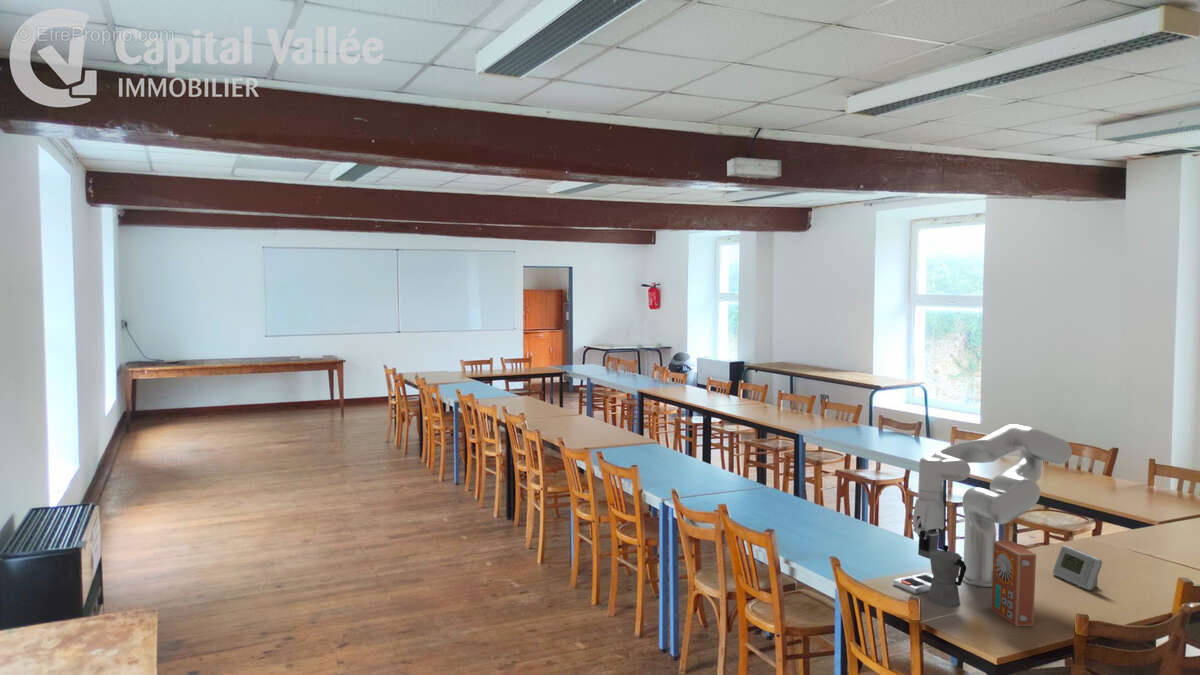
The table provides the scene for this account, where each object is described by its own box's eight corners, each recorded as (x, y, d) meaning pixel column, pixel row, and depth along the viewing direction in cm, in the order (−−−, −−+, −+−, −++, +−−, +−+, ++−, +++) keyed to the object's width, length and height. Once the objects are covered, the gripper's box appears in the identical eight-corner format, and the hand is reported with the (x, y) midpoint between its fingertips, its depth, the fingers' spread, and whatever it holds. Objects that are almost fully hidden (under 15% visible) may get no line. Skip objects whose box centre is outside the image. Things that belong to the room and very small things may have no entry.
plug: (925, 553, 257) (926, 528, 257) (937, 557, 253) (938, 532, 252) (918, 554, 255) (919, 529, 255) (930, 559, 251) (931, 533, 251)
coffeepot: (917, 594, 246) (919, 539, 245) (942, 592, 248) (944, 537, 247) (950, 614, 231) (952, 555, 230) (976, 611, 233) (978, 553, 232)
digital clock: (1050, 574, 266) (1051, 544, 266) (1075, 574, 266) (1077, 544, 266) (1079, 591, 250) (1080, 559, 250) (1106, 592, 250) (1108, 560, 250)
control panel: (1016, 628, 221) (986, 607, 236) (1039, 627, 222) (1007, 607, 236) (1019, 555, 220) (988, 539, 235) (1042, 555, 221) (1010, 539, 235)
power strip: (926, 578, 261) (927, 570, 261) (949, 587, 253) (949, 579, 253) (893, 585, 254) (893, 578, 253) (915, 594, 246) (915, 587, 245)
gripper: (938, 490, 260) (935, 543, 261) (903, 494, 253) (901, 549, 254) (957, 495, 253) (954, 549, 254) (922, 500, 246) (919, 556, 247)
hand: (928, 548), depth 254 cm, fingers closed on plug, 3 cm apart
